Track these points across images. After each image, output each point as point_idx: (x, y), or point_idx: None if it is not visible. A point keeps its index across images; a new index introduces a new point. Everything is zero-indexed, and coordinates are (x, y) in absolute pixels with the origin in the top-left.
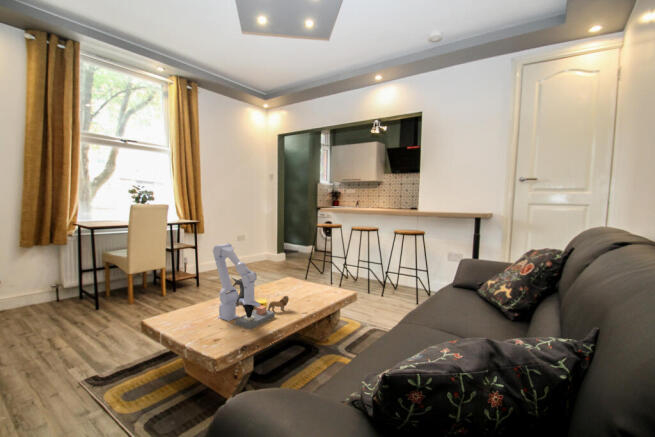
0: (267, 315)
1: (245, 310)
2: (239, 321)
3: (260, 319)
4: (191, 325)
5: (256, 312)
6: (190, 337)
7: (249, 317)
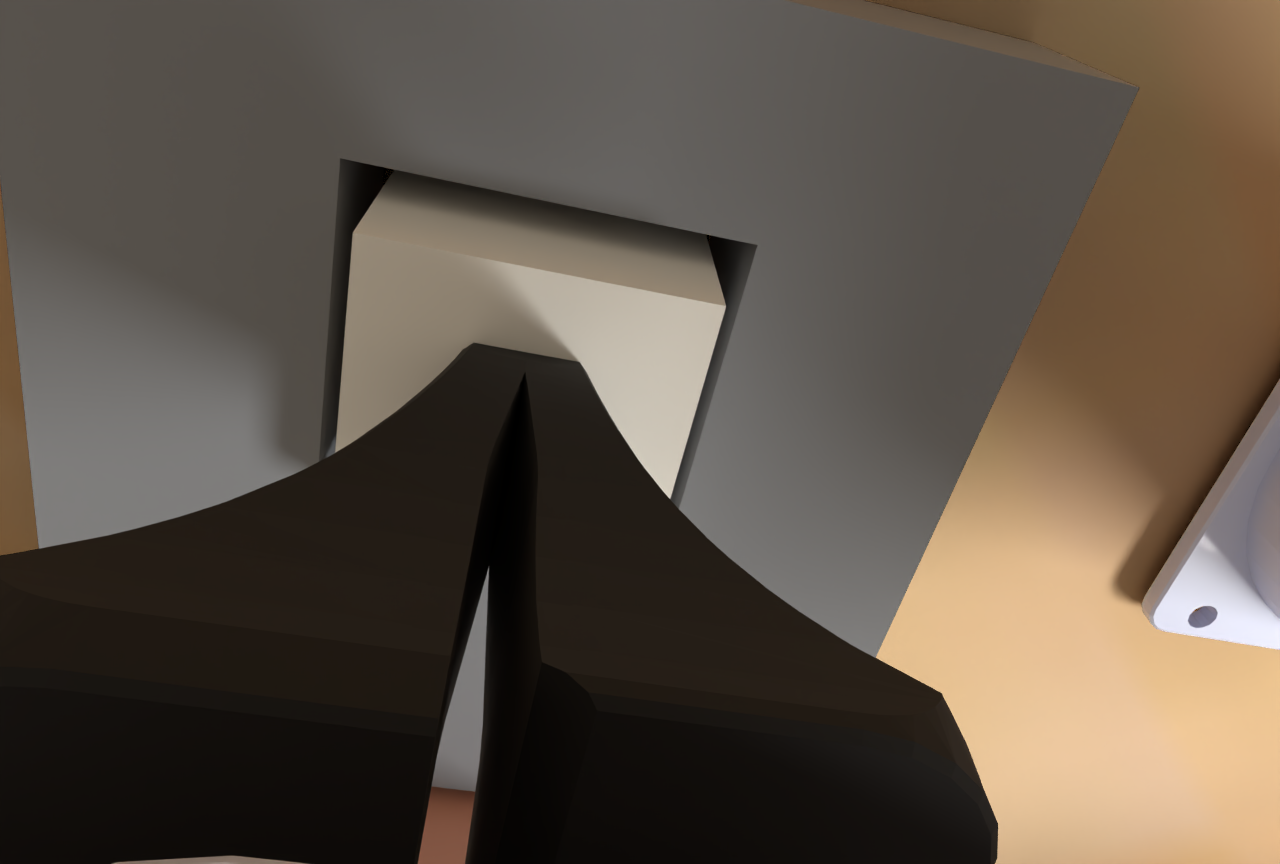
0: None
1: (656, 529)
2: (823, 6)
3: (32, 482)
4: None
5: None
6: None
7: None
